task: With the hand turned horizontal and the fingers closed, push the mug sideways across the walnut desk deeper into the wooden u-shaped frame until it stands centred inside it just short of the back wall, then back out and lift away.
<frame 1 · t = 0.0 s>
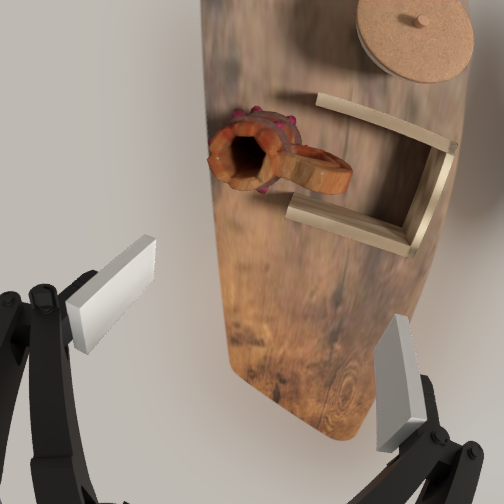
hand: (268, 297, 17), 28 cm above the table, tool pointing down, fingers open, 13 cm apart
lidded bowl: (400, 39, 30), on the table
mug: (290, 144, 40), on the table
wooden u-shaped frame: (365, 168, 39), on the table
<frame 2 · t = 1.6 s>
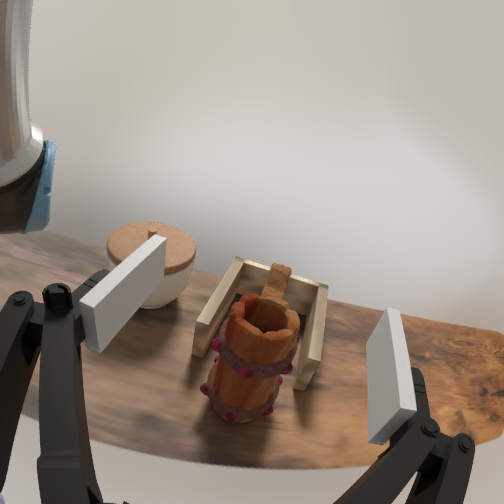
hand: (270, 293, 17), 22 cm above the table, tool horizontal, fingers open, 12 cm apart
lidded bowl: (148, 294, 48), on the table
mug: (242, 386, 37), on the table
wooden u-shaped frame: (261, 334, 46), on the table
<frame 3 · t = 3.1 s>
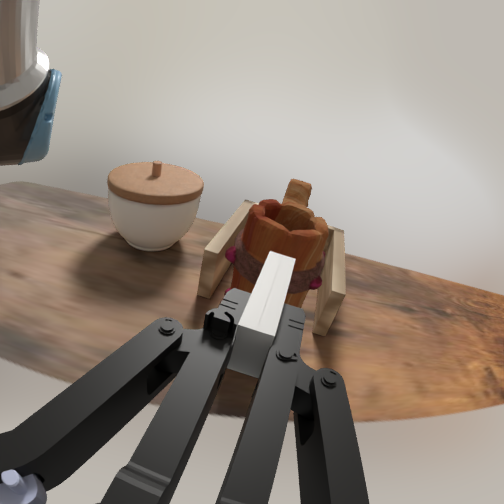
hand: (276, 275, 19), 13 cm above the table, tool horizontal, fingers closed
lidded bowl: (150, 239, 44), on the table
mug: (256, 329, 34), on the table
wooden u-shaped frame: (273, 278, 42), on the table
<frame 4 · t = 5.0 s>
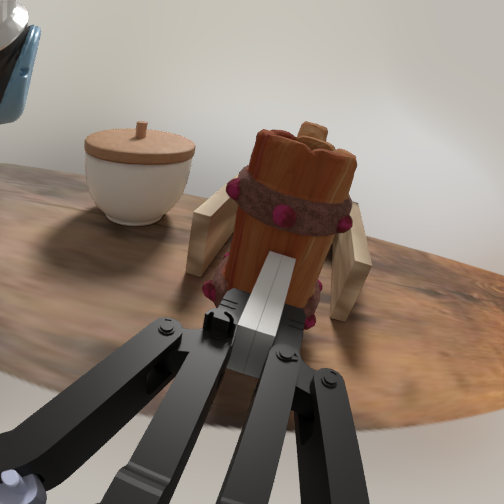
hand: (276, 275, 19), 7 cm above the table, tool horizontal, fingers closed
lidded bowl: (133, 214, 37), on the table
mug: (262, 307, 27), on the table, touching gripper
wooden u-shaped frame: (279, 256, 35), on the table
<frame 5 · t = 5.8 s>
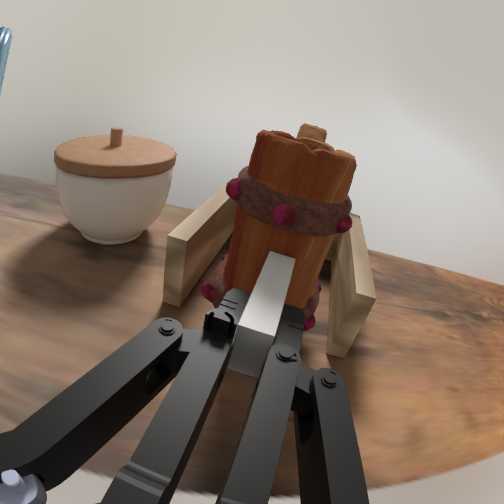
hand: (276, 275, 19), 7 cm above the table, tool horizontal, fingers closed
lidded bowl: (111, 230, 33), on the table
mug: (260, 309, 27), on the table, touching gripper
wooden u-shaped frame: (270, 279, 31), on the table
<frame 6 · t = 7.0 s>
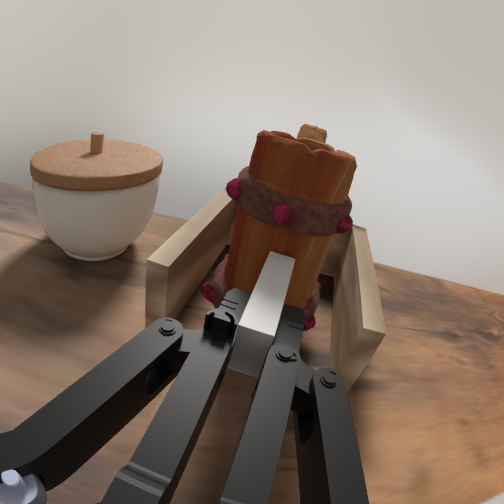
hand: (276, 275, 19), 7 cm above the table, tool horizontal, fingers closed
lidded bowl: (94, 243, 30), on the table
mug: (260, 309, 27), on the table, touching gripper
wooden u-shaped frame: (267, 300, 28), on the table
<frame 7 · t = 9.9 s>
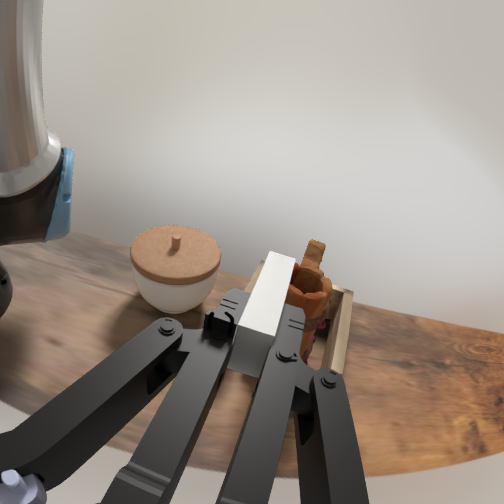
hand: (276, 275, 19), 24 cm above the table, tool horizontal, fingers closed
lidded bowl: (173, 298, 49), on the table
mug: (280, 345, 45), on the table
wooden u-shaped frame: (285, 340, 46), on the table
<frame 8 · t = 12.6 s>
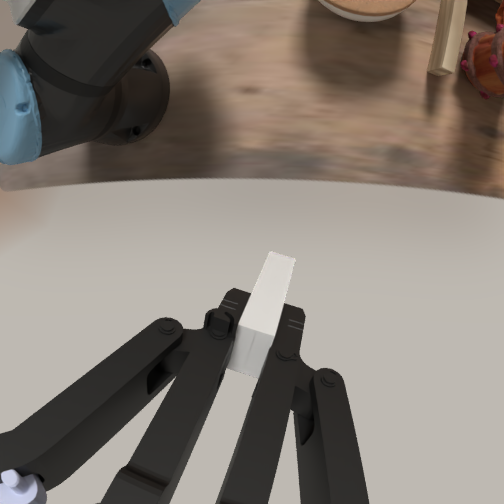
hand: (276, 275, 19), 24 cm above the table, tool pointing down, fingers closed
mug: (484, 50, 26), on the table
wooden u-shaped frame: (488, 43, 25), on the table
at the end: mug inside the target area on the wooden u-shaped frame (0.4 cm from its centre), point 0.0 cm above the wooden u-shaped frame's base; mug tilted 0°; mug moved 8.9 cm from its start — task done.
